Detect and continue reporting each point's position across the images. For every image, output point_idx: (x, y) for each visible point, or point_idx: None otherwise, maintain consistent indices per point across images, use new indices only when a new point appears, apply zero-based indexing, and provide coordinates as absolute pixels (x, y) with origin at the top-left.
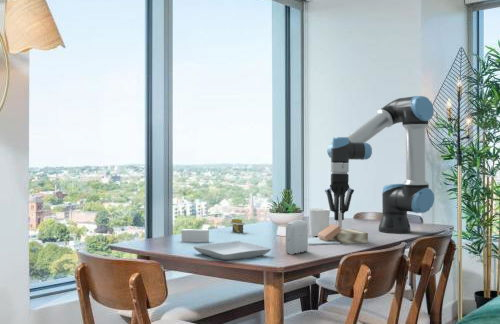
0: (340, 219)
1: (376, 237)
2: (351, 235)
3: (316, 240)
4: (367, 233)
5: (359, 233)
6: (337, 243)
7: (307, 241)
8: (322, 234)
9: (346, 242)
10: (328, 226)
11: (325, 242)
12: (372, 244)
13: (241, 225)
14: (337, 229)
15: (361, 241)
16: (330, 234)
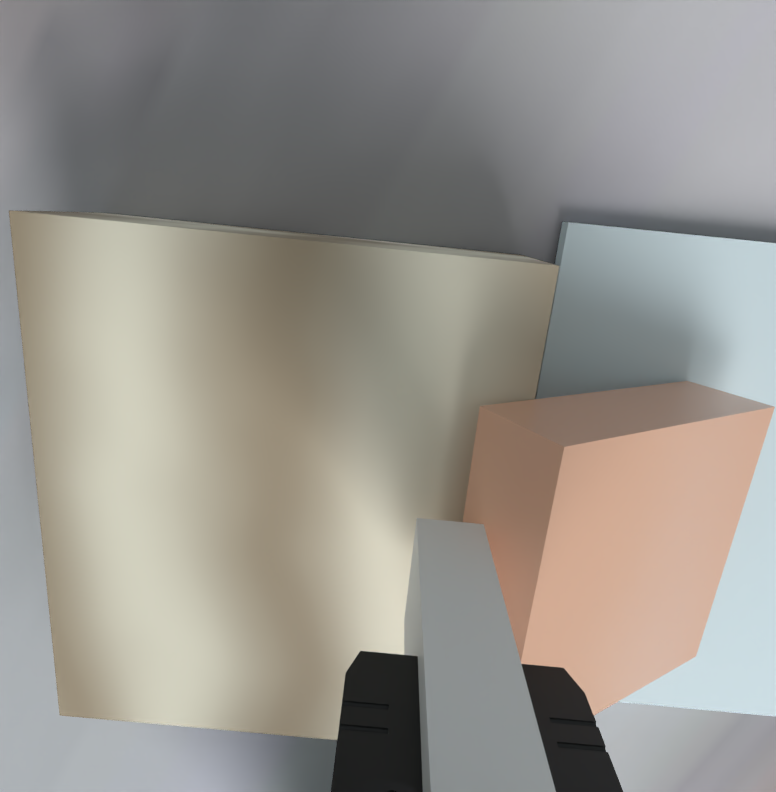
0: (469, 643)
1: None
2: (359, 244)
3: (759, 502)
4: (20, 211)
5: (187, 231)
6: (611, 227)
7: None
8: (721, 531)
9: (446, 247)
10: None
11: (768, 302)
12: (101, 26)
13: None
14: (579, 422)
15: (198, 222)
16: (681, 406)
